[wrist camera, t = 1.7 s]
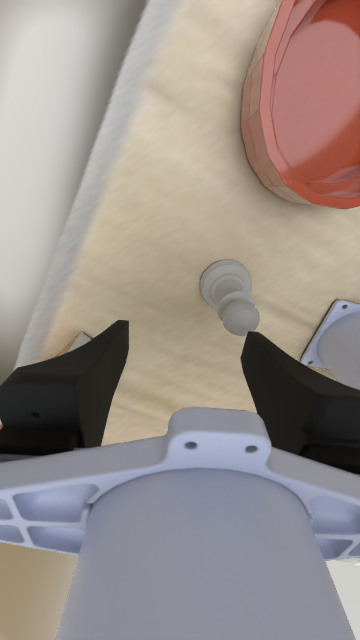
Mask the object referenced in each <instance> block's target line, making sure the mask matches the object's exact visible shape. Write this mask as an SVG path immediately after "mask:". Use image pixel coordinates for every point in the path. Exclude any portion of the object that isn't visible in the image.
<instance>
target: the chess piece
mask: <svg viewBox="0 0 360 640" xmlns="http://www.w3.org/2000/svg"><path fill="white" fill-rule="evenodd" d="M200 291H201V294H202V296H203V298H204V299H205V300H206V302H207V303H208V304H209V305H210V306H211V307H213V308H215V309H218V315H219V317H220V319H221V320H222V321H223V324H224V326H225V328H226V329H227V330H228V331H229V332H230V333H232V334H234V335H238V336H245V335H247V333H248V331H254V330H255V329H256V327H257V326H258V323H259V312H258V310H257V308H256V307H255V302H254V300H253V298H252V297H251V296H250V295H249V294H250V292H251V279H250V275H249V273H248V271H247V269H246V268H245V267H244V266H243V265H242V264H240V263H238V262H236V261H232V260H223V261H219V262H216V263H214V264H213V265H211V266H210V267H209V268H208V269H207V270H206V271H205V272H204V274H203V276H202V278H201V281H200Z"/></svg>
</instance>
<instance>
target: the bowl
mask: <svg viewBox="0 0 360 640" xmlns="http://www.w3.org/2000/svg"><path fill="white" fill-rule="evenodd" d="M241 131H242V136H243V140H244V144H245V149H246V153H247V158H248V161H249V163H250V165H251V166H252V168H253V170H254V171H255V173H256V174H257V176H258V177H259V179H260V180H261V182H262V183H263V185H264V186H265V187H266V188H268V189H269V190H271V191H272V192H274V193H275V194H277V195H278V196H280V197H281V198H283V199H284V200H286V201H289V202H296V203H302V204H308V205H315V206H323V207H331V208H338V209H350V208H354V207H359V206H360V0H280V1H279V3H278V5H277V7H276V9H275V11H274V13H273V14H272V16H271V18H270V20H269V22H268V24H267V26H266V28H265V29H264V31H263V33H262V35H261V37H260V39H259V41H258V43H257V46H256V49H255V52H254V55H253V58H252V61H251V64H250V67H249V70H248V73H247V76H246V79H245V82H244V86H243V99H242V114H241Z"/></svg>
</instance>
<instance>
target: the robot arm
mask: <svg viewBox="0 0 360 640" xmlns="http://www.w3.org/2000/svg"><path fill="white" fill-rule="evenodd" d="M343 305H345V306H344V307H342V306H343ZM128 350H129V321H125V320H118V321H116V322H115V323H114V324H112V325H111V326H110V327H109V328H107V329H106V330H105V331H103V332H102V333H101V334H99V335H98V336H96V337H95V338H93V339H92V340H90V341H89V342H87V343H86V344H84V345H82V346H80V347H78V348H76V349H74V350H72V351H70V352H67V353H65V354H63V355H60V356H58V357H55V358H52V359H49V360H46V361H43V362H39V363H35V364H31V365H27V366H23V367H18V368H17V369H16V370H15V371H14V372H13V373H12V374H11V375H10V376H9V377H8V378H7V379H6V380H5V381H4V383H3V384H2V385H1V386H0V419H1V422H2V425H3V426H2V428H1V429H0V542H3V543H8V544H14V545H20V546H26V547H31V548H37V549H43V550H49V551H54V552H60V553H66V554H71V555H77V556H78V559H77V563H76V567H75V570H74V574H73V577H72V581H71V585H70V589H69V592H68V596H67V599H66V603H65V606H64V610H63V614H62V618H61V621H60V625H59V628H58V632H57V636H56V639H55V640H356V639H355V637H354V634H353V631H352V629H351V626H350V624H349V621H348V619H347V616H346V614H345V611H344V608H343V606H342V603H341V601H340V598H339V596H338V593H337V590H336V588H335V585H334V583H333V580H332V578H331V575H330V572H329V570H328V567H327V565H326V562H325V561H328V560H339V559H349V558H360V304H357V303H353V302H348V301H344V300H337V301H335V302H334V303H333V305H332V307H331V308H330V310H329V312H328V314H327V315H326V317H325V319H324V320H323V322H322V324H321V326H320V327H319V329H318V331H317V332H316V334H315V336H314V337H313V339H312V341H311V343H310V344H309V346H308V348H307V349H306V351H305V353H304V355H303V356H302V358H301V363H300V362H298V361H297V360H295V359H294V358H292V357H291V356H290V355H288V354H287V353H285V352H284V351H283V350H281V349H280V348H279V347H277V346H276V345H275V344H273V343H272V342H271V341H270V340H268V339H267V338H266V337H265V336H263V335H262V334H260V333H259V332H253V331H248V333H247V337H246V341H245V344H244V348H243V351H242V355H241V363H242V368H243V373H244V376H245V378H246V381H247V384H248V387H249V390H250V392H251V395H252V398H253V401H254V403H255V407H256V410H257V413H253V412H249V411H246V410H234V409H219V408H205V407H188V408H182V409H180V410H179V411H177V412H175V413H173V415H172V416H171V418H170V420H169V425H168V431H167V434H166V435H165V436H159V437H153V438H147V439H141V440H135V441H129V442H123V443H117V444H111V445H105V446H101V443H102V439H103V434H104V430H105V426H106V422H107V418H108V414H109V410H110V406H111V402H112V398H113V395H114V392H115V390H116V387H117V384H118V382H119V379H120V377H121V374H122V371H123V369H124V366H125V363H126V359H127V355H128ZM309 361H310V362H309ZM305 365H308V366H313V367H319V368H324V369H329V371H330V372H331V373H332V374H333V376H334V377H335V378H336V379H337V380H338V382H337V381H335V380H332V379H330V378H328V377H326V376H324V375H322V374H320V373H318V372H316V371H314V370H312V369H310V368H308V367H307V366H305Z"/></svg>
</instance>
